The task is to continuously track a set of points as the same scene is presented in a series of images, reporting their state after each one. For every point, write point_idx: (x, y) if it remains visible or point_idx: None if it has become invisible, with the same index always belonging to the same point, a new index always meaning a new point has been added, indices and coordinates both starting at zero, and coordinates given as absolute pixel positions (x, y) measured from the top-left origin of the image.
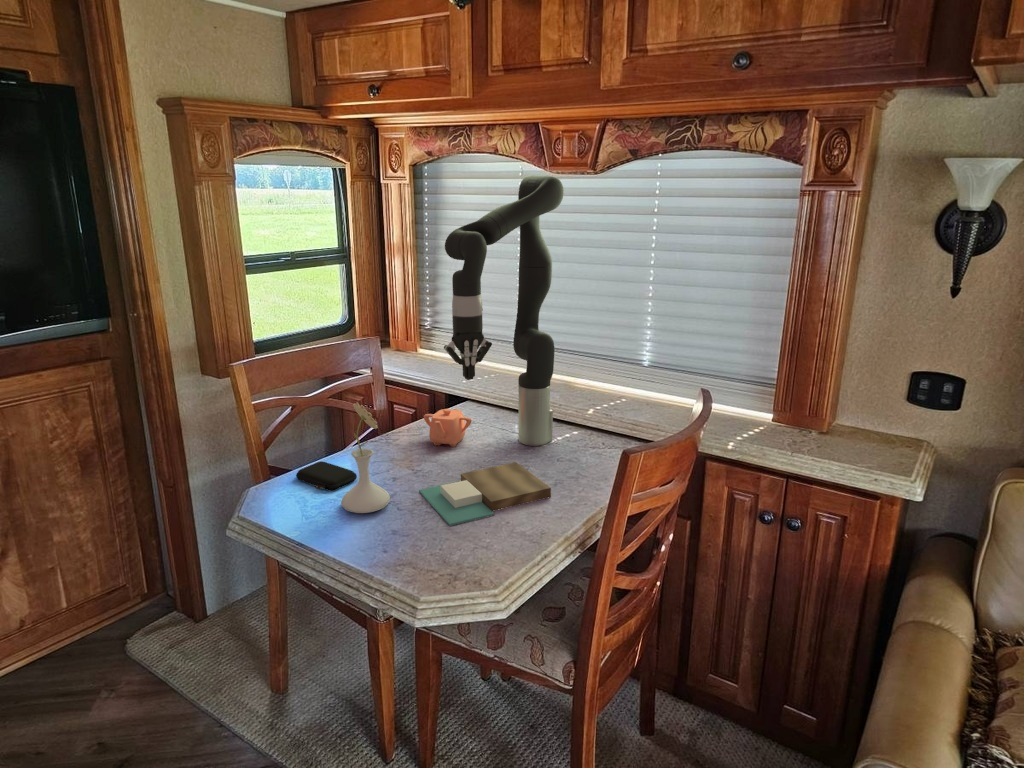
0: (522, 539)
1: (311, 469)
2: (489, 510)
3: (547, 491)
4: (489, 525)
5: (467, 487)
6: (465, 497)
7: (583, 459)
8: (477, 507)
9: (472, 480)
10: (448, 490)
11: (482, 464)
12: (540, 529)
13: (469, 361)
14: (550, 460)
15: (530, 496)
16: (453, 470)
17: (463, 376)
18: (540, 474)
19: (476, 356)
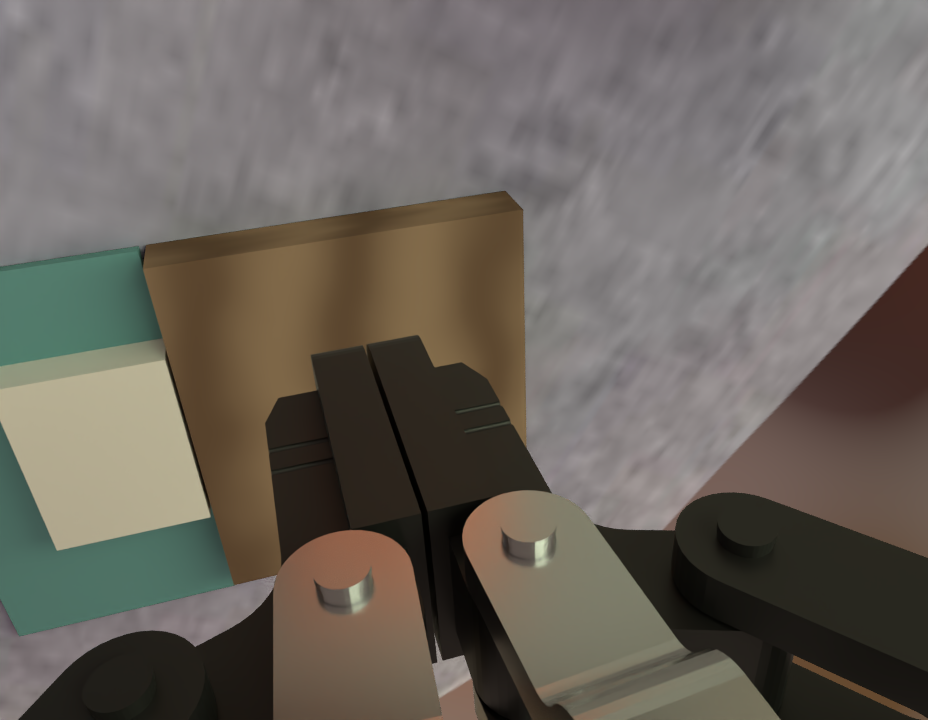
0: None
1: None
2: (221, 564)
3: None
4: (193, 637)
5: (150, 443)
6: (117, 536)
7: (868, 170)
8: (173, 535)
9: (197, 375)
10: (33, 455)
11: (353, 16)
12: None
13: (481, 659)
14: (733, 120)
15: None
16: (128, 39)
17: (276, 406)
18: (592, 273)
19: (749, 656)
